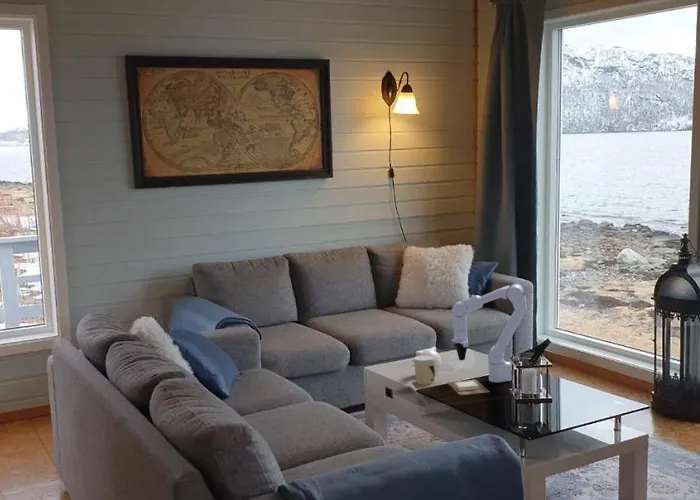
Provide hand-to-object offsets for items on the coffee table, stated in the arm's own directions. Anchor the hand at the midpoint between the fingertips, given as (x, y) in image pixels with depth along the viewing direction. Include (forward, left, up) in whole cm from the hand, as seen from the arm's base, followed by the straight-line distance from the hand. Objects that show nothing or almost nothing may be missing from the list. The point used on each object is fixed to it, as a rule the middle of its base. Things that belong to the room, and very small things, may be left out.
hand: (461, 359), depth 346 cm
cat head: (+11, -16, -10) cm, 22 cm away
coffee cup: (+16, -2, -10) cm, 19 cm away
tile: (+2, +10, -8) cm, 13 cm away
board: (+1, +12, -10) cm, 16 cm away
